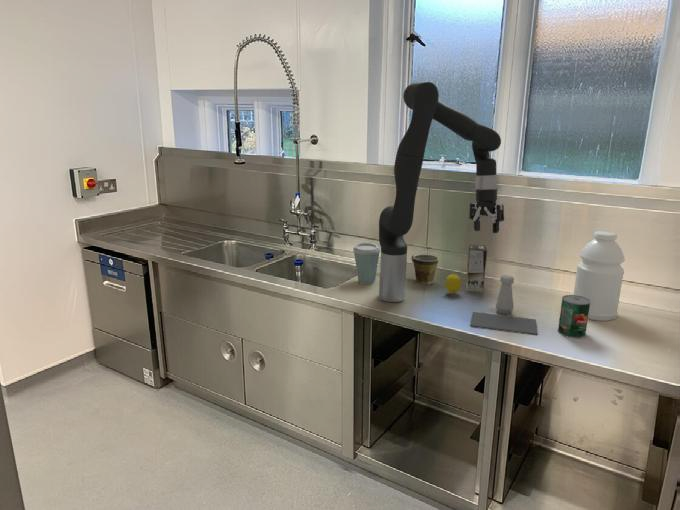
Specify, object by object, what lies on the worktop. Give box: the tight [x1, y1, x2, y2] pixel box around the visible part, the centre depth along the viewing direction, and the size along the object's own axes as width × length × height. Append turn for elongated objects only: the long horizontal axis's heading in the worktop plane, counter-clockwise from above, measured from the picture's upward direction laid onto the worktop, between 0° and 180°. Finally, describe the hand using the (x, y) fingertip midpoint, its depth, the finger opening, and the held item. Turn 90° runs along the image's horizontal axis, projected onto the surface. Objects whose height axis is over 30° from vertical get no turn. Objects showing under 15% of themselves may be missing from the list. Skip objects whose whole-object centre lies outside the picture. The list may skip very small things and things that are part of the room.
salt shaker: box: [495, 274, 515, 316], centre depth 174 cm, size 6×6×13 cm
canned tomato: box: [557, 294, 590, 339], centre depth 159 cm, size 8×8×11 cm
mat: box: [469, 311, 538, 336], centre depth 167 cm, size 12×20×1 cm, turn 72°
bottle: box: [573, 230, 626, 322], centre depth 172 cm, size 14×14×28 cm
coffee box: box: [465, 244, 488, 293], centre depth 199 cm, size 9×6×16 cm
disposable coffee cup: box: [352, 241, 381, 285], centre depth 204 cm, size 11×11×15 cm
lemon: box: [445, 273, 462, 295], centre depth 192 cm, size 6×6×8 cm
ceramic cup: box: [411, 253, 440, 286], centre depth 207 cm, size 13×10×10 cm
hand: (486, 231), depth 192 cm, fingers open, 8 cm apart
